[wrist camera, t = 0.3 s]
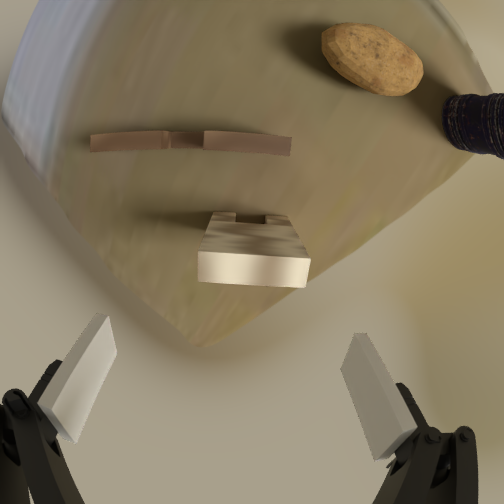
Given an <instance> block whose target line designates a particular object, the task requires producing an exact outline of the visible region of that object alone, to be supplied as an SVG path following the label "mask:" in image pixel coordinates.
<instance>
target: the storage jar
mask: <svg viewBox="0 0 504 504" xmlns="http://www.w3.org/2000/svg"><path fill="white" fill-rule="evenodd" d="M442 123H443V128H444V131H445V134H446V136H447V138H448V140H449V141H450V142H451V144H452V145H453V146H454V147H456V148H457V149H460V150H466V151H469V152H472V153H478V154H492V155H496V156H497V157H499V158H501V159H504V93H499V94H497V93H493V94H490V95H488V96H479V95H476V94H465V95H460V96H451V97H449V98H448V99H447V100H446V101H445V103H444V105H443V109H442Z"/></svg>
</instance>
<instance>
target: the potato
mask: <svg viewBox="0 0 504 504" xmlns="http://www.w3.org/2000/svg"><path fill="white" fill-rule="evenodd" d="M322 53H323V54H324V56H325V57H326V59H327V61H328V62H329V64H330V65H331V66H332V67H333V68H334V69H335V70H336V71H337V72H338V73H339V74H340V75H341V76H343V77H345V78H346V79H348V80H349V81H351V82H352V83H354V84H356V85H358V86H360V87H361V88H363V89H365V90H367V91H369V92H371V93H373V94H379V95H385V96H403V95H405V94H406V93H408V92H410V91H411V90H413V89H414V88H416V87H417V86H418V84H419V82H420V80H421V78H422V76H423V74H424V73H423V65H422V61H421V60H420V59H419V57H418V56H417V55H416V53H415V52H414V51H413V50H411V49H410V48H409V47H408V46H406V45H405V44H404V43H403V42H401V41H400V40H398V39H397V38H395V37H394V36H392V35H391V34H390V33H388V32H387V31H385V30H384V29H382V28H379V27H377V26H374V25H370V24H359V23H341V24H336V25H334V26H332V27H330V28H328V29H327V30H325V31H324V32H322Z"/></svg>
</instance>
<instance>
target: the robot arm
mask: <svg viewBox="0 0 504 504" xmlns="http://www.w3.org/2000/svg"><path fill="white" fill-rule="evenodd" d="M116 355H117V350H116V346H115V342H114V338H113V333H112V329H111V324H110V320H109V315H104V314H99V313H96V315H95V316H94V317H93V319H92V320H91V322H90V323H89V324H88V326H87V327H86V328H85V330H84V331H83V333H82V334H81V336H80V337H79V338H78V340H77V341H76V343H75V344H74V346H73V347H72V349H71V350H70V352H69V353H68V354H67V356H66V357H65V359H64V361H60V360H55V361H54V362H53V363H52V364H50V365H49V366H48V368H47V369H46V371H45V374H43V375H42V377H41V380H39V381H38V383H37V385H36V386H35V388H34V389H33V391H32V393H31V394H30V396H29V397H28V398H27V396H26V395H25V393H24V392H23V391H22V390H19V389H11V390H9V391H7V392H6V393H5V395H4V397H3V399H2V403H3V405H1V404H0V504H30V498H29V491H28V487H29V490H30V493H31V496H32V499H33V501H34V504H85V503H84V501H83V499H82V497H81V495H80V493H79V491H78V489H77V487H76V485H75V483H74V481H73V478H72V476H71V474H70V471H69V469H68V467H67V464H66V462H65V459H64V456H63V454H62V451H61V448H60V446H59V443H58V440H57V439H56V435H57V433H59V434H60V436H61V437H62V438H63V439H65V440H68V441H70V442H73V443H75V444H77V441H78V439H79V436H80V434H81V431H82V429H83V427H84V424H85V422H86V420H87V417H88V415H89V412H90V410H91V408H92V406H93V404H94V401H95V399H96V397H97V395H98V393H99V390H100V388H101V386H102V384H103V382H104V380H105V378H106V375H107V373H108V371H109V369H110V367H111V365H112V363H113V361H114V359H115V357H116ZM341 372H342V374H343V377H344V379H345V382H346V385H347V387H348V390H349V393H350V395H351V398H352V400H353V403H354V406H355V409H356V411H357V414H358V417H359V419H360V422H361V425H362V428H363V431H364V433H365V436H366V439H367V442H368V445H369V448H370V450H371V453H372V456H373V459H374V462H376V461H380V460H383V459H387V458H389V457H390V456H391V455H392V454H393V453H395V455H396V458H395V459H394V460H393V461H391V462H390V463H389V464H388V465H387V467H386V468H389V467H390V466H391V467H390V470H389V472H388V474H387V476H386V478H385V480H384V482H383V484H382V486H381V488H380V490H379V492H378V494H377V496H376V498H375V500H374V502H373V504H478V462H477V449H476V440H475V434H474V432H473V430H472V429H470V428H469V427H467V426H461V427H459V428H458V429H457V430H456V431H455V432H454V433H441V432H440V431H439V430H438V429H436V428H435V427H429V425H428V424H427V422H426V420H425V419H424V416H423V414H422V413H421V411H420V409H419V407H418V406H417V404H416V402H415V400H414V398H413V397H412V394H411V393H410V391H409V389H408V388H407V387H406V386H405V385H404V384H402V383H396V384H395V383H394V381H393V379H392V377H391V375H390V373H389V372H388V370H387V368H386V366H385V364H384V363H383V361H382V359H381V357H380V356H379V354H378V352H377V350H376V349H375V347H374V345H373V344H372V342H371V340H370V338H369V337H368V335H367V333H355V334H354V336H353V339H352V341H351V344H350V347H349V349H348V352H347V354H346V357H345V359H344V362H343V364H342V366H341Z"/></svg>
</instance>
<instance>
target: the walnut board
mask: <svg viewBox="0 0 504 504" xmlns="http://www.w3.org/2000/svg"><path fill="white" fill-rule="evenodd" d="M291 139H292V137H285V136H276V135H267V134H256V133H244V132H229V131H205V130H204V132H182V131H176V132H172V131H163V130H155V131H132V132H118V133H106V134H96V135H91V139H90V152H100V151H116V150H139V149H166V148H202V149H203V150H222V151H238V152H252V153H263V154H273V155H283V156H290V149H291Z"/></svg>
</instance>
